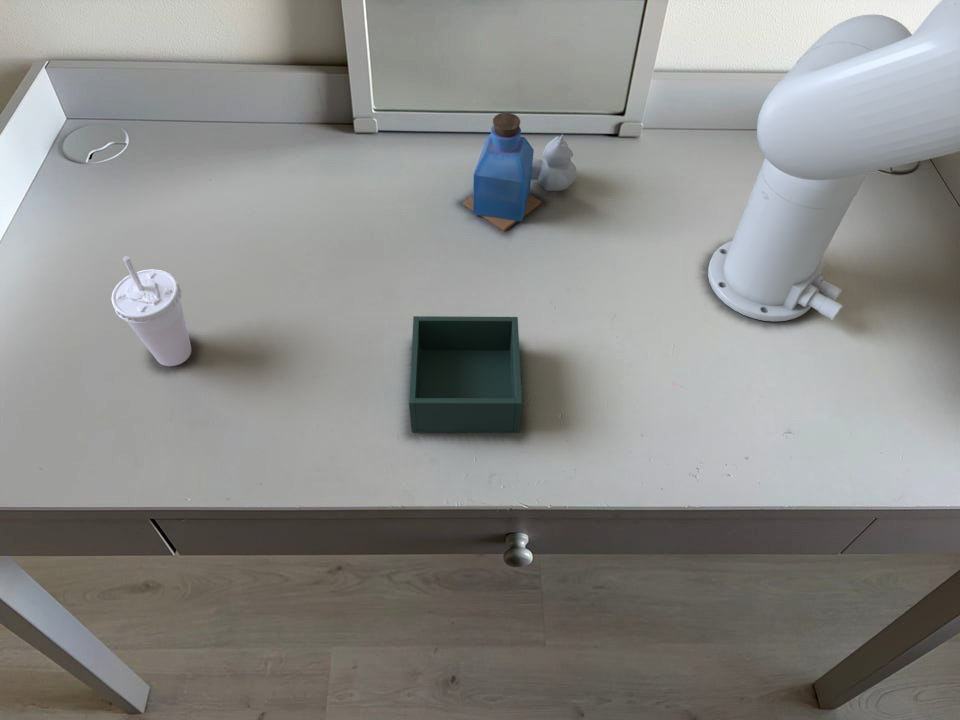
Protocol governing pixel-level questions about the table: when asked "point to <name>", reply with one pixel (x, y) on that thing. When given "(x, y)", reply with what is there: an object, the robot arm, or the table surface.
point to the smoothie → (154, 312)
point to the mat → (506, 223)
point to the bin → (465, 374)
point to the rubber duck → (554, 166)
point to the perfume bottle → (503, 171)
